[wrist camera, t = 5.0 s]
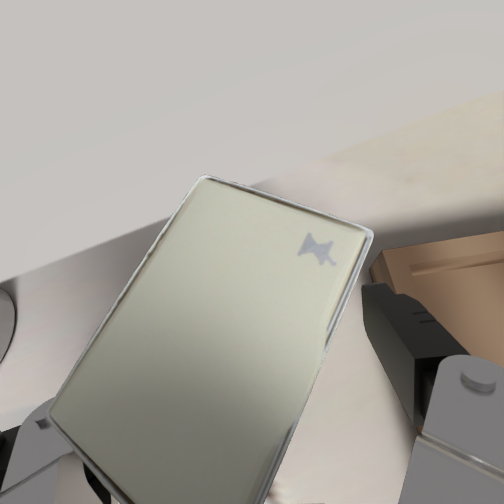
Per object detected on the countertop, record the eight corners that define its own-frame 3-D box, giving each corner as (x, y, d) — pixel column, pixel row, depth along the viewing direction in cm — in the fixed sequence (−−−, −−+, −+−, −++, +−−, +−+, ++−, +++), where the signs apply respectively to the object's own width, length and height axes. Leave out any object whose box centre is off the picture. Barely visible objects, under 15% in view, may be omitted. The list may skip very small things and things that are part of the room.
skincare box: (270, 286, 17) (205, 157, 6) (332, 315, 16) (388, 213, 5) (223, 377, 16) (22, 419, 5) (286, 420, 14) (213, 633, 3)
